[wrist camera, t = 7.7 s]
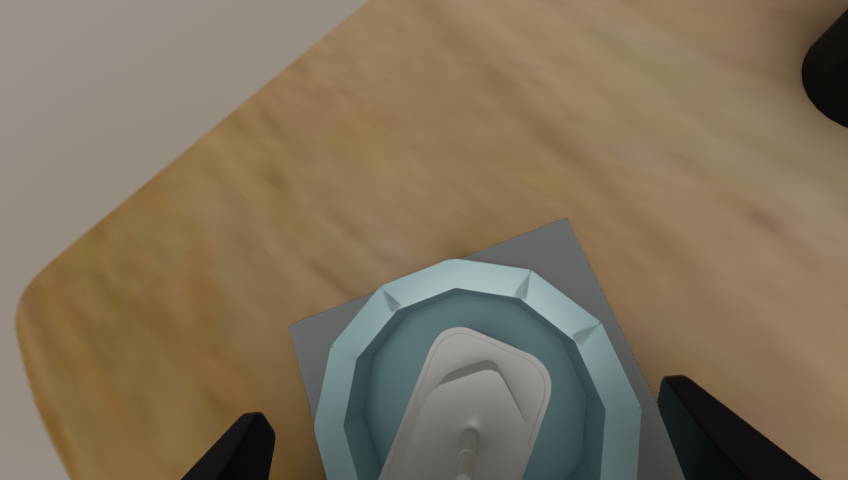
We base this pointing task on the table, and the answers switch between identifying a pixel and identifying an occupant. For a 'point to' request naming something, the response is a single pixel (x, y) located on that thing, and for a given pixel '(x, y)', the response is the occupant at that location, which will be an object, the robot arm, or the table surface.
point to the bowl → (502, 318)
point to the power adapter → (471, 411)
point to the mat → (566, 271)
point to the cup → (829, 71)
